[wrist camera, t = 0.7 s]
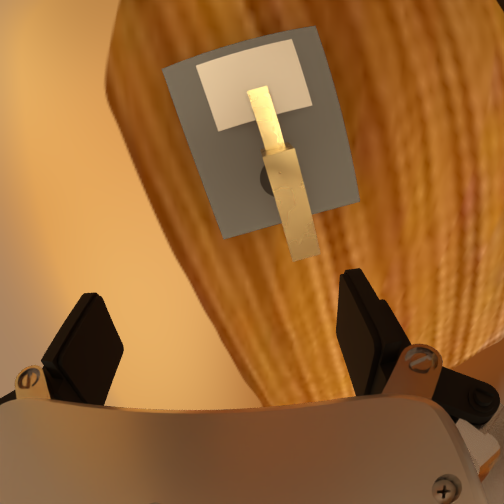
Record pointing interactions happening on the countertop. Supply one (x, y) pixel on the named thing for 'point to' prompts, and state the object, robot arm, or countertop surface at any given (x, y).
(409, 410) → the robot arm
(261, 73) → the cream rectangular block
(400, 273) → the countertop surface
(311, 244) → the key
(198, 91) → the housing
